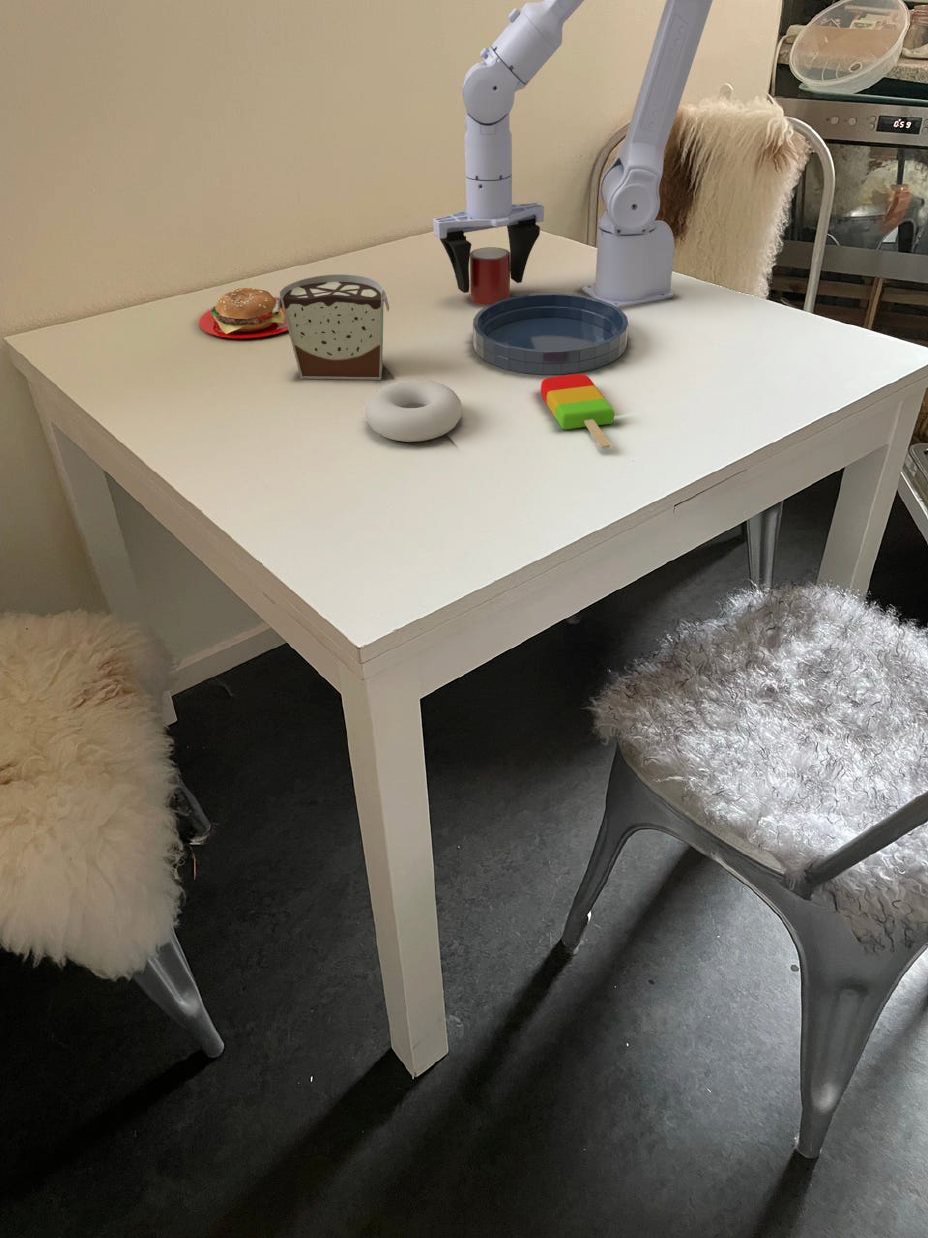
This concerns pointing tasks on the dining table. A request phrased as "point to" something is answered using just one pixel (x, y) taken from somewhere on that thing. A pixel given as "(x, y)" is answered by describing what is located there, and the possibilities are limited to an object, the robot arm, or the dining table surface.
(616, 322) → the dark blue round plate
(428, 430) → the donut
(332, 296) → the food container
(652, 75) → the robot arm
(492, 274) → the can
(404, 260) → the dining table surface
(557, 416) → the popsicle
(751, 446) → the dining table surface
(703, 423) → the dining table surface
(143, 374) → the dining table surface
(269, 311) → the hamburger
